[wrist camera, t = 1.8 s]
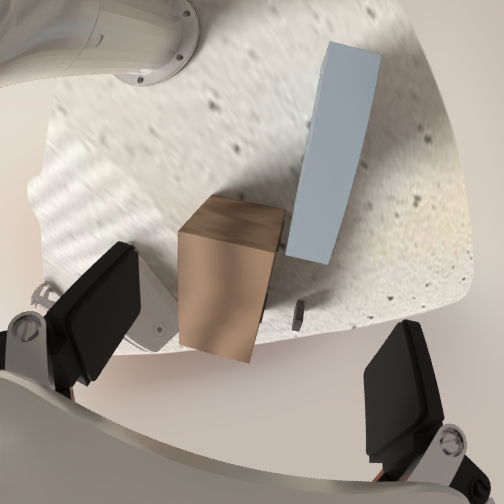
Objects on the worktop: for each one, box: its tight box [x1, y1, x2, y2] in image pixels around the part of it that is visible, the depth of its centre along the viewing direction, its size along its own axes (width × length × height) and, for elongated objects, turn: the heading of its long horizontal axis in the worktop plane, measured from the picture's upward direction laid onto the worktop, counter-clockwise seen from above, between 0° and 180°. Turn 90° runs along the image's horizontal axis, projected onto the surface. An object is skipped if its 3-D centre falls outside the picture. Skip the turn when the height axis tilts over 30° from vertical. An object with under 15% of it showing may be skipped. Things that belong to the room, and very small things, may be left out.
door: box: [285, 41, 381, 265], centre depth 22 cm, size 4×14×15 cm, turn 171°
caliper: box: [31, 284, 56, 311], centre depth 52 cm, size 20×1×6 cm, turn 51°
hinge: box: [124, 242, 179, 353], centre depth 42 cm, size 17×5×10 cm, turn 31°
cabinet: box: [178, 195, 305, 363], centre depth 34 cm, size 14×16×10 cm
